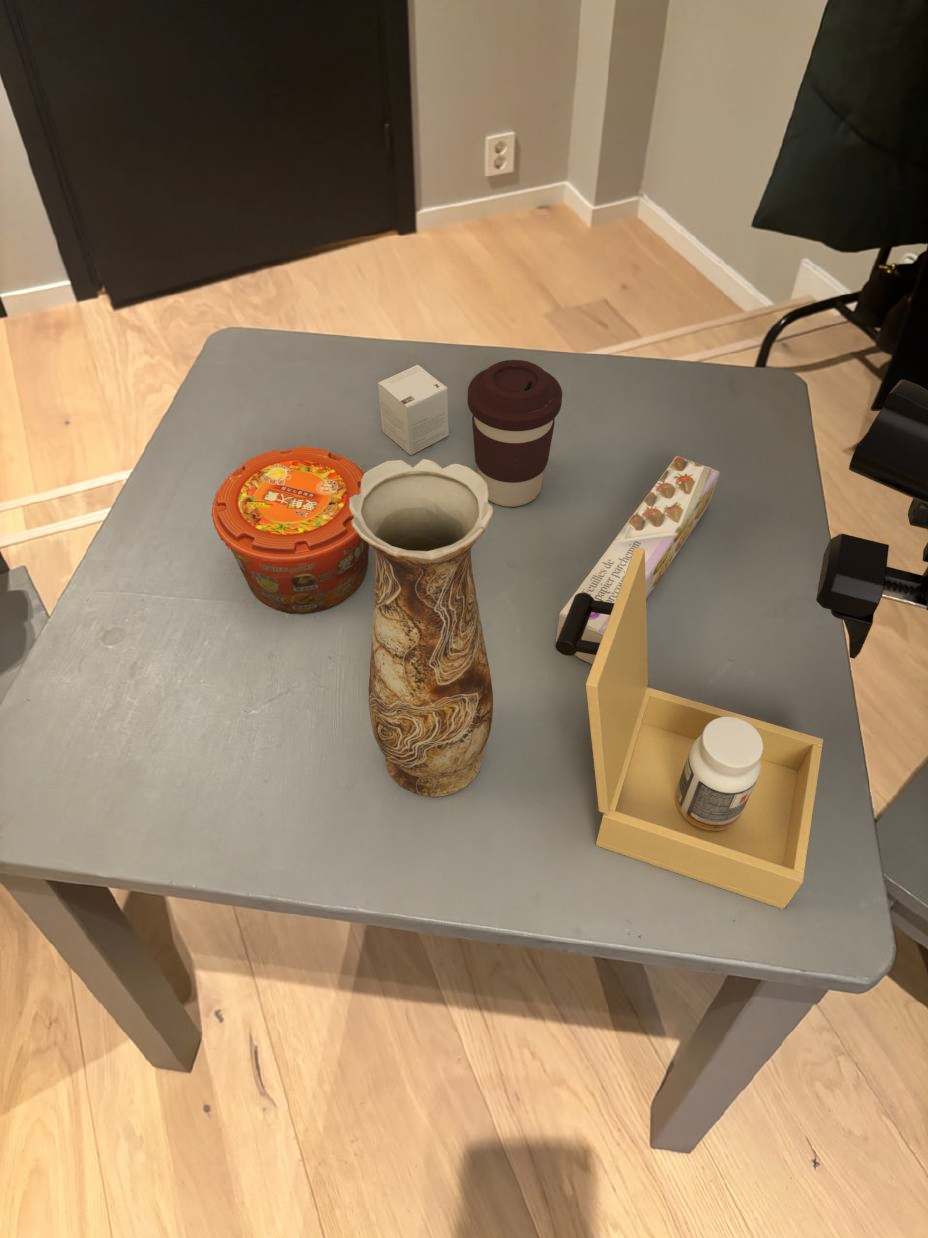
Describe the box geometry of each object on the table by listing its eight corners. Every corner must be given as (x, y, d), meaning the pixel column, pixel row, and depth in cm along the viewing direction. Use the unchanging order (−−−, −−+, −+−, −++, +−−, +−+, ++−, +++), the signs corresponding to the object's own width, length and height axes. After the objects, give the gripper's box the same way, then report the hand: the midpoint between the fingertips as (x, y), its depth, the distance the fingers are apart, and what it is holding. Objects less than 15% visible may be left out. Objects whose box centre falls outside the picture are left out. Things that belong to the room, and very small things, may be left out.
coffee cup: (450, 481, 105) (448, 371, 93) (516, 448, 108) (522, 339, 97) (502, 529, 100) (508, 419, 88) (570, 493, 103) (583, 383, 92)
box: (600, 671, 87) (607, 634, 83) (552, 647, 89) (557, 610, 85) (710, 507, 102) (721, 469, 97) (667, 490, 104) (676, 452, 99)
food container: (217, 625, 91) (192, 551, 82) (246, 515, 101) (227, 439, 93) (374, 629, 90) (365, 555, 82) (388, 518, 101) (381, 443, 92)
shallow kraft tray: (805, 770, 80) (823, 738, 76) (783, 910, 72) (803, 882, 68) (634, 718, 84) (643, 685, 79) (595, 845, 75) (602, 815, 71)
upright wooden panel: (645, 548, 67) (588, 540, 69) (597, 686, 59) (533, 674, 61) (648, 683, 79) (599, 674, 81) (608, 814, 71) (555, 801, 72)
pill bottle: (754, 808, 77) (787, 746, 69) (709, 846, 74) (737, 787, 67) (705, 762, 80) (730, 698, 72) (659, 798, 77) (681, 735, 70)
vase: (376, 806, 78) (339, 570, 55) (375, 705, 84) (342, 456, 62) (496, 799, 78) (509, 561, 55) (485, 698, 85) (493, 450, 62)
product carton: (420, 412, 113) (417, 362, 107) (450, 436, 110) (449, 386, 104) (380, 431, 111) (376, 381, 105) (410, 457, 107) (407, 406, 102)
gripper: (1148, 485, 62) (1036, 629, 74) (866, 425, 66) (804, 570, 78) (1166, 599, 55) (1040, 737, 67) (852, 524, 59) (787, 666, 71)
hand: (912, 670), depth 71 cm, fingers open, 9 cm apart
